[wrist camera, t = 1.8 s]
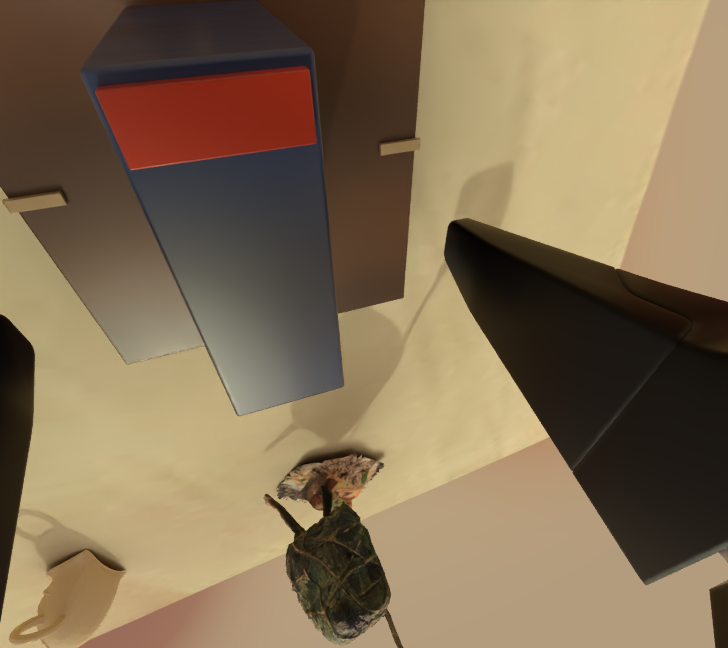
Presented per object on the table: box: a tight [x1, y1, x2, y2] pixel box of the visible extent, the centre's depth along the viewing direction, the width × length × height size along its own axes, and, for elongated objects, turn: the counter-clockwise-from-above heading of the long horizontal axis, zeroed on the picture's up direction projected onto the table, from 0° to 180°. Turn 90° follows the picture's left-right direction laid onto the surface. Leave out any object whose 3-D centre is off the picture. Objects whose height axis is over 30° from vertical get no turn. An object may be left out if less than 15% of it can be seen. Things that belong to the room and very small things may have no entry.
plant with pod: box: [264, 454, 403, 648], centre depth 27 cm, size 8×11×20 cm
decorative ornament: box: [9, 549, 126, 648], centre depth 30 cm, size 4×8×5 cm, turn 0°
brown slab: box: [0, 0, 425, 364], centre depth 13 cm, size 14×12×3 cm
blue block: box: [80, 0, 344, 416], centre depth 10 cm, size 8×3×6 cm, turn 1°
